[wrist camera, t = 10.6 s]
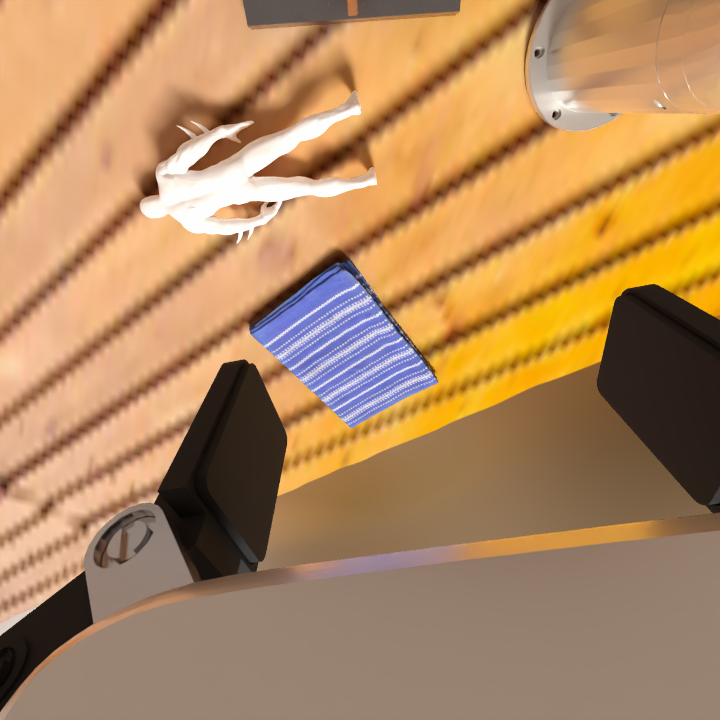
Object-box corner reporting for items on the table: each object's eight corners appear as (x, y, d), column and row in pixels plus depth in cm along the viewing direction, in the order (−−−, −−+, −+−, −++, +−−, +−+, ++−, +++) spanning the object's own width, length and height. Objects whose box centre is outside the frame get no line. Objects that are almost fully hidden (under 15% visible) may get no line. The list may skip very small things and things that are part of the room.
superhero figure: (353, 73, 35) (130, 152, 39) (349, 57, 30) (92, 150, 33) (381, 199, 40) (182, 257, 44) (382, 205, 35) (157, 270, 39)
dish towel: (344, 250, 44) (344, 258, 42) (439, 374, 55) (443, 386, 53) (246, 324, 50) (241, 335, 47) (350, 423, 61) (350, 435, 58)
